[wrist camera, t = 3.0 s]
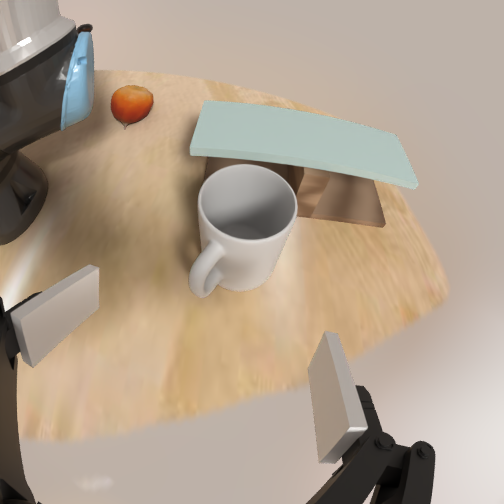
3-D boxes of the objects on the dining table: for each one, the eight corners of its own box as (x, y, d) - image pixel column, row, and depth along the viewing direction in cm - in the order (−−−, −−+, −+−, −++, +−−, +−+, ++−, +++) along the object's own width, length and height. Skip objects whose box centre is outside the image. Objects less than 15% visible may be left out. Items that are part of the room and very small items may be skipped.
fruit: (97, 120, 40) (109, 80, 35) (129, 119, 46) (141, 83, 42) (117, 134, 38) (131, 90, 34) (152, 133, 44) (166, 93, 40)
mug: (229, 215, 34) (236, 150, 25) (287, 250, 33) (315, 193, 23) (168, 287, 29) (145, 237, 19) (231, 332, 28) (238, 303, 18)
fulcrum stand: (200, 207, 34) (197, 162, 27) (211, 146, 40) (212, 104, 33) (382, 227, 37) (410, 194, 30) (366, 169, 42) (385, 135, 35)
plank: (190, 155, 28) (189, 147, 27) (204, 107, 32) (204, 100, 31) (414, 189, 30) (419, 184, 29) (393, 140, 35) (396, 135, 34)
